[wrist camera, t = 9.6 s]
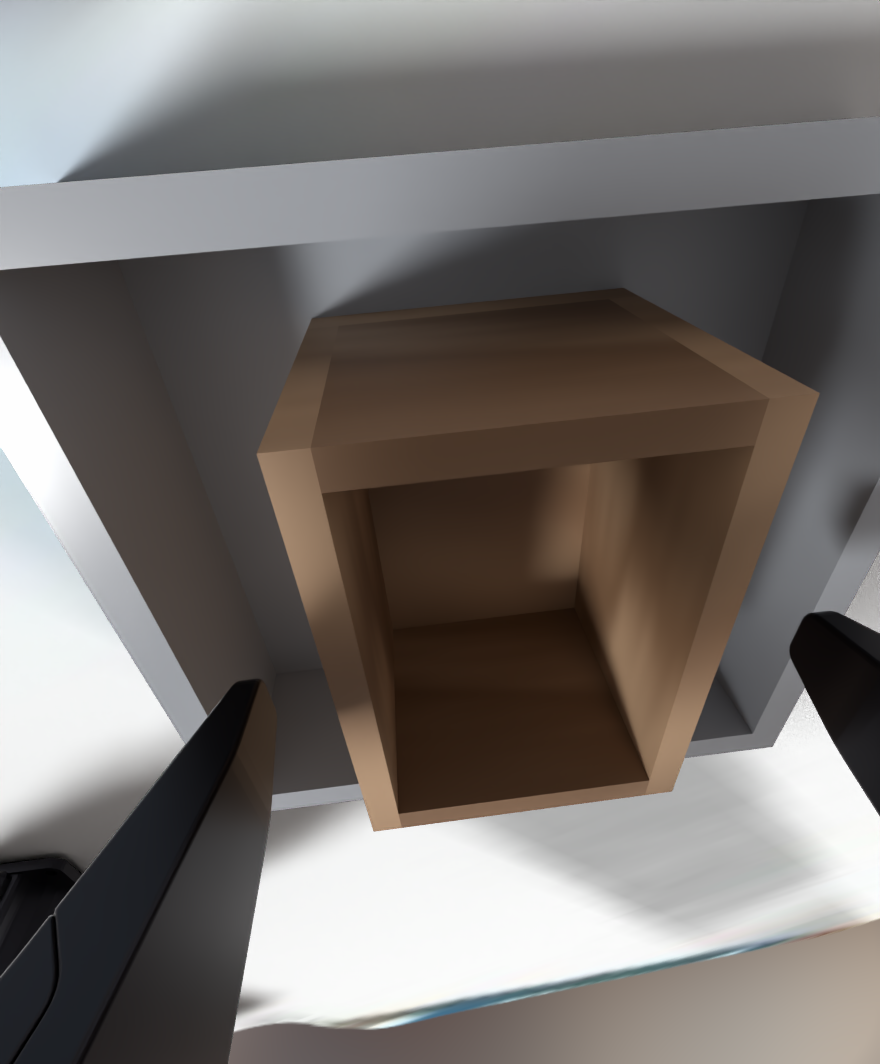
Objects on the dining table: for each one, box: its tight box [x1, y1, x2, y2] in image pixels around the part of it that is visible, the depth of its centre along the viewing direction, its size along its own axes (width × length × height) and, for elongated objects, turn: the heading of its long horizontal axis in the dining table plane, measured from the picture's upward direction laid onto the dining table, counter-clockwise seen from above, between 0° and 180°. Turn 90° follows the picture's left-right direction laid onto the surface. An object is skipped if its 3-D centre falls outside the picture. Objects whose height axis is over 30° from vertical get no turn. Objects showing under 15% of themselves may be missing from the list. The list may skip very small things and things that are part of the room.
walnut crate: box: [257, 288, 820, 831], centre depth 11 cm, size 9×6×6 cm
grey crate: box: [0, 116, 880, 811], centre depth 12 cm, size 14×15×5 cm
